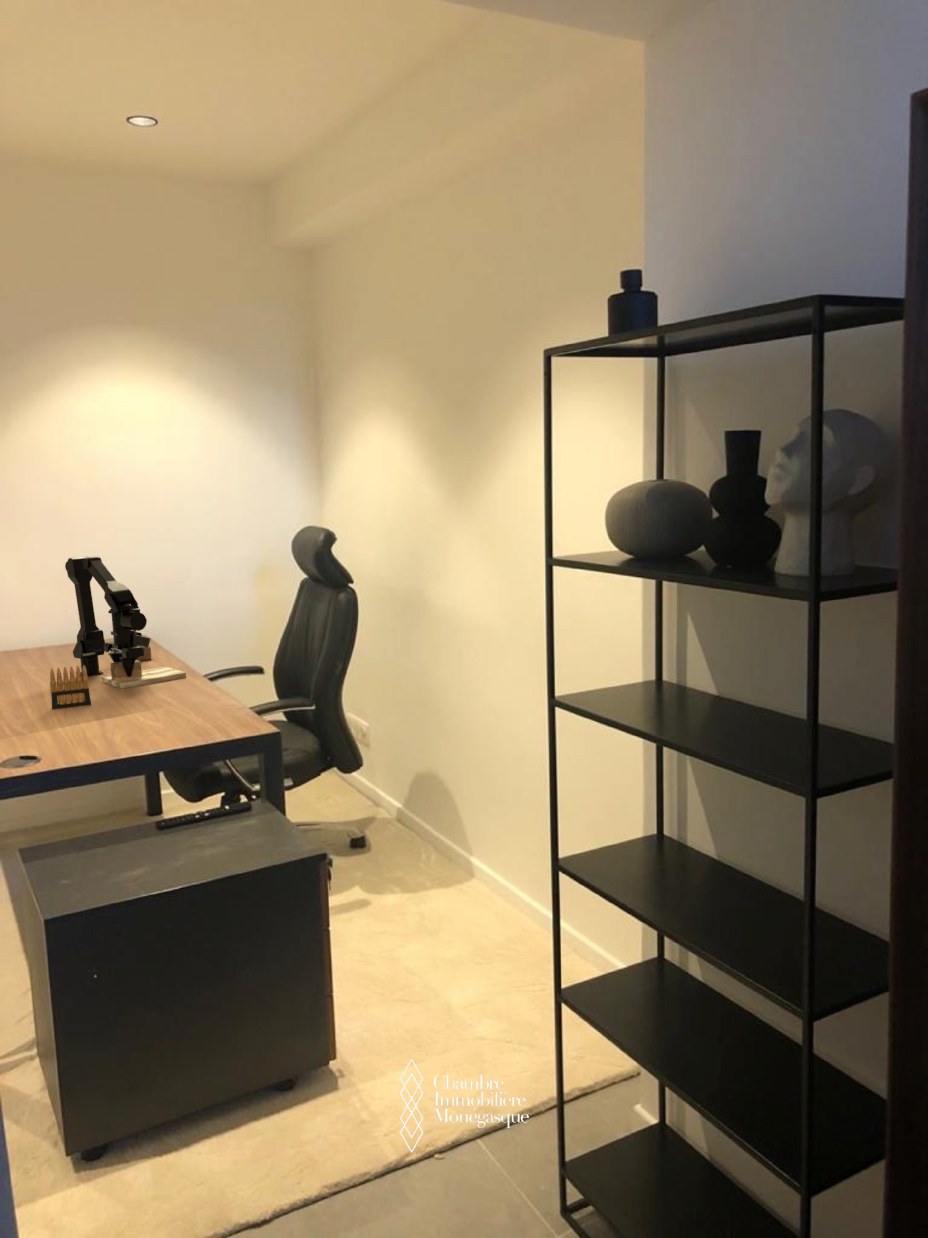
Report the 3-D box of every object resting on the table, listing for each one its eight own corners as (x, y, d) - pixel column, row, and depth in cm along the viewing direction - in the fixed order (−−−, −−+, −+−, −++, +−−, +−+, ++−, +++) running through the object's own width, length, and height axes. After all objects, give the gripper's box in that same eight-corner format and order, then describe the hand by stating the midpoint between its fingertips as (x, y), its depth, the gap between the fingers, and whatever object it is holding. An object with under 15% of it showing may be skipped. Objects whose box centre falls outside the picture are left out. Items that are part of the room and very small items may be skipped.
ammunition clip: (90, 703, 300) (87, 664, 298) (91, 705, 299) (87, 665, 297) (52, 708, 296) (48, 668, 294) (52, 709, 295) (48, 669, 293)
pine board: (102, 681, 330) (102, 677, 330) (166, 670, 345) (165, 666, 344) (121, 688, 319) (120, 683, 319) (186, 677, 334) (185, 672, 333)
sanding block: (111, 678, 327) (110, 663, 326) (135, 674, 332) (134, 659, 332) (117, 680, 324) (116, 665, 323) (141, 676, 329) (140, 661, 328)
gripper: (158, 627, 324) (162, 675, 326) (134, 621, 337) (138, 667, 340) (124, 632, 316) (128, 681, 319) (101, 626, 330) (105, 673, 333)
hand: (126, 675), depth 328 cm, fingers closed on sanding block, 5 cm apart
